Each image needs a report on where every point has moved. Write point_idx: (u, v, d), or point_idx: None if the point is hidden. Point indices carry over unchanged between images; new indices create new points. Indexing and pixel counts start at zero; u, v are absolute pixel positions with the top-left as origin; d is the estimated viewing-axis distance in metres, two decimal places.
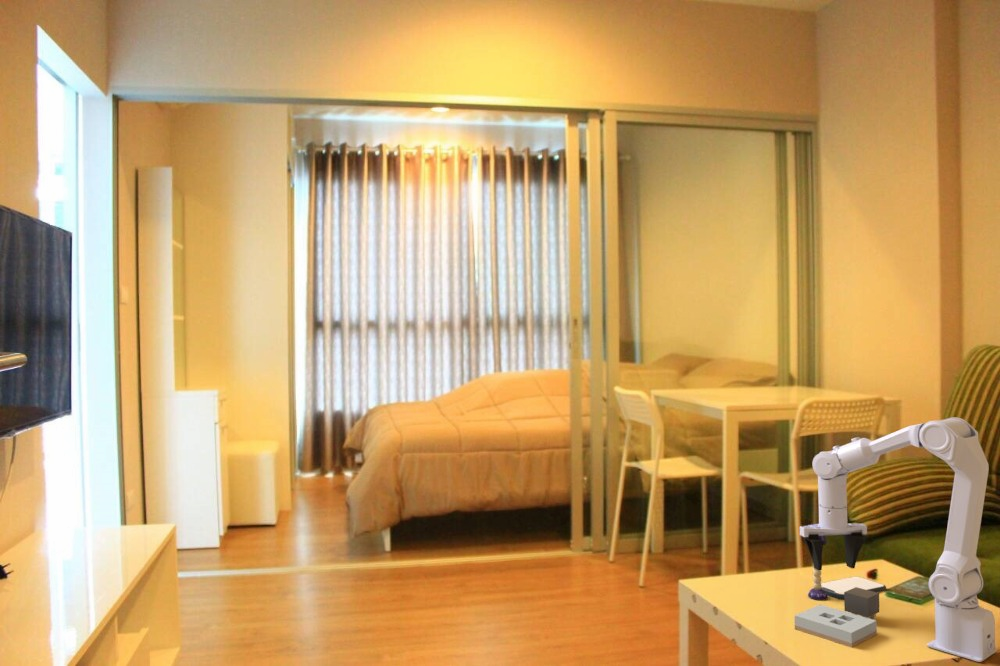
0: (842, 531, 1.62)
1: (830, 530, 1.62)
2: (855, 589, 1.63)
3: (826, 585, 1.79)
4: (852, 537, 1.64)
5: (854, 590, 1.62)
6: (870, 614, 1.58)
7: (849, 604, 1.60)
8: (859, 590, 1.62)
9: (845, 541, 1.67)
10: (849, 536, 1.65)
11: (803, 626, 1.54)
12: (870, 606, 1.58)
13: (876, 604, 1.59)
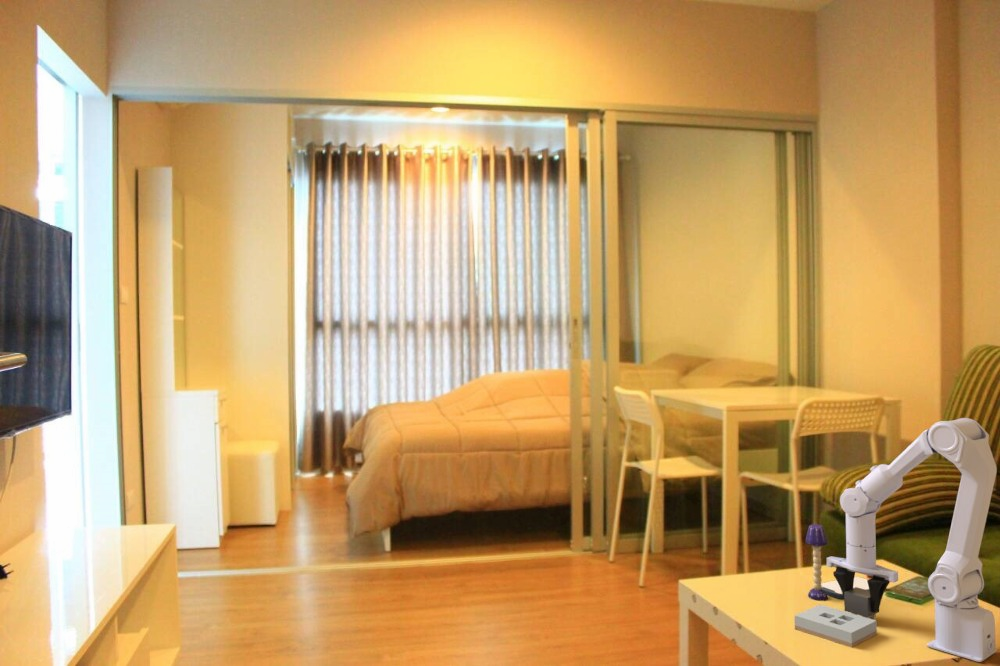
0: (855, 569, 1.59)
1: (845, 565, 1.61)
2: (855, 589, 1.63)
3: (826, 585, 1.79)
4: None
5: (854, 590, 1.62)
6: (870, 614, 1.58)
7: (849, 604, 1.60)
8: (859, 590, 1.62)
9: None
10: None
11: (803, 626, 1.54)
12: None
13: None
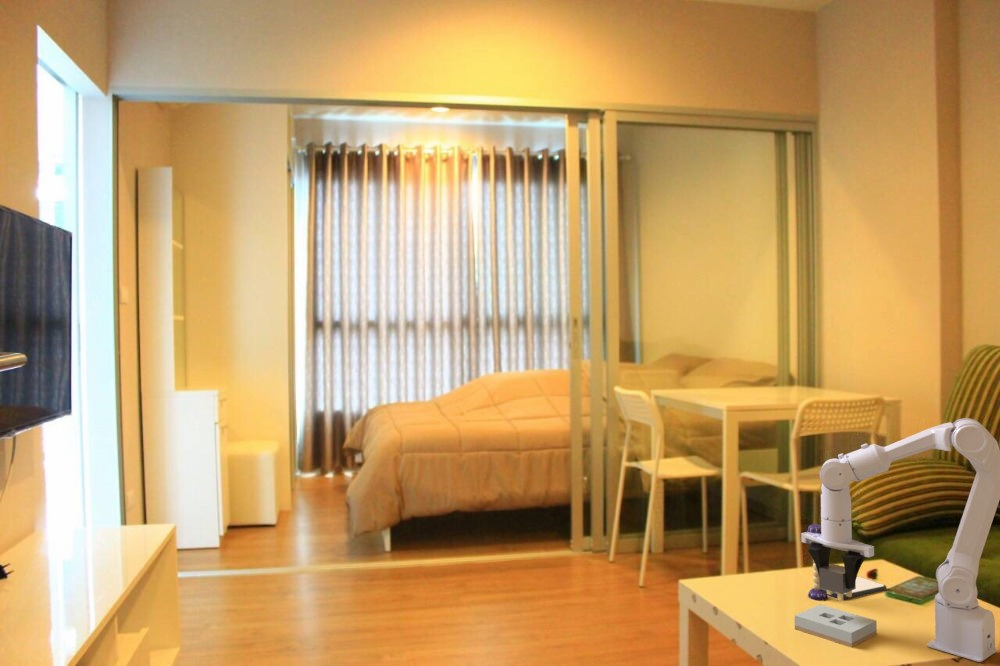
0: (830, 544, 1.53)
1: (820, 540, 1.55)
2: (831, 565, 1.57)
3: None
4: None
5: (829, 566, 1.56)
6: (845, 591, 1.52)
7: (824, 580, 1.54)
8: (835, 566, 1.56)
9: None
10: None
11: (803, 626, 1.54)
12: (845, 583, 1.52)
13: None
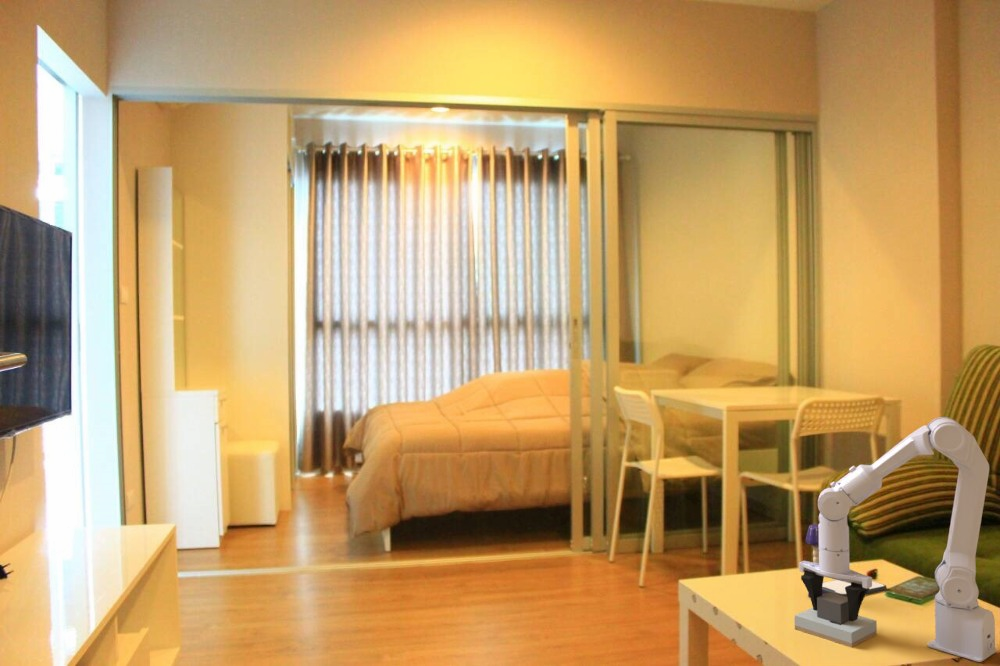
0: (828, 575, 1.52)
1: (818, 570, 1.54)
2: (828, 594, 1.56)
3: (827, 584, 1.79)
4: None
5: (827, 595, 1.56)
6: (843, 621, 1.51)
7: (822, 610, 1.54)
8: (832, 595, 1.55)
9: None
10: None
11: (803, 626, 1.54)
12: (843, 613, 1.51)
13: None
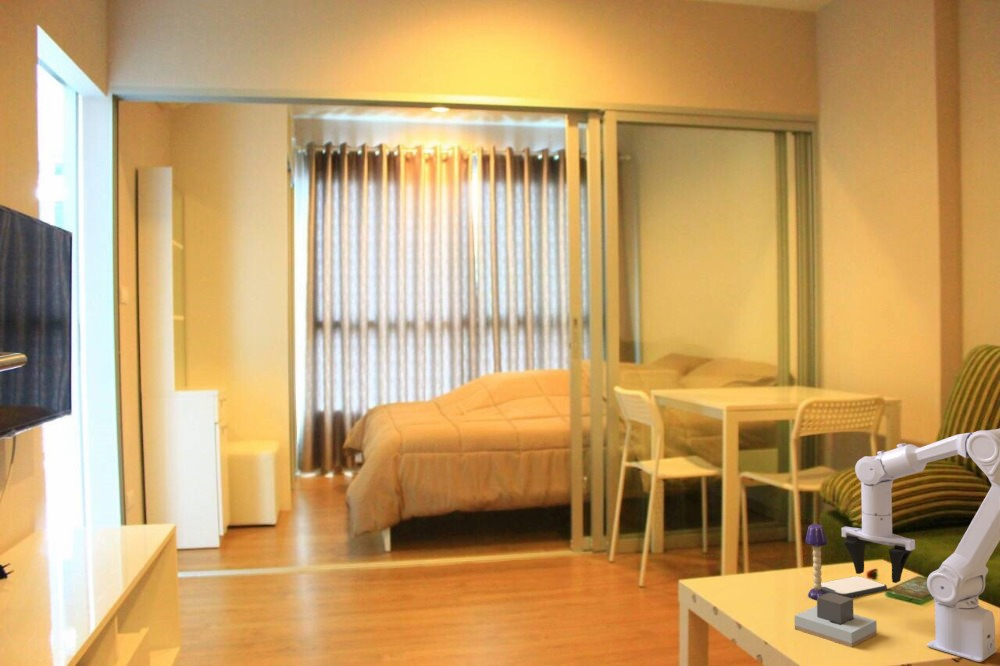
0: (871, 538, 1.57)
1: (861, 535, 1.59)
2: (828, 594, 1.56)
3: (827, 584, 1.79)
4: None
5: (827, 595, 1.56)
6: (843, 621, 1.51)
7: (822, 610, 1.54)
8: (832, 595, 1.55)
9: None
10: None
11: (803, 626, 1.54)
12: (843, 613, 1.51)
13: (850, 610, 1.53)
